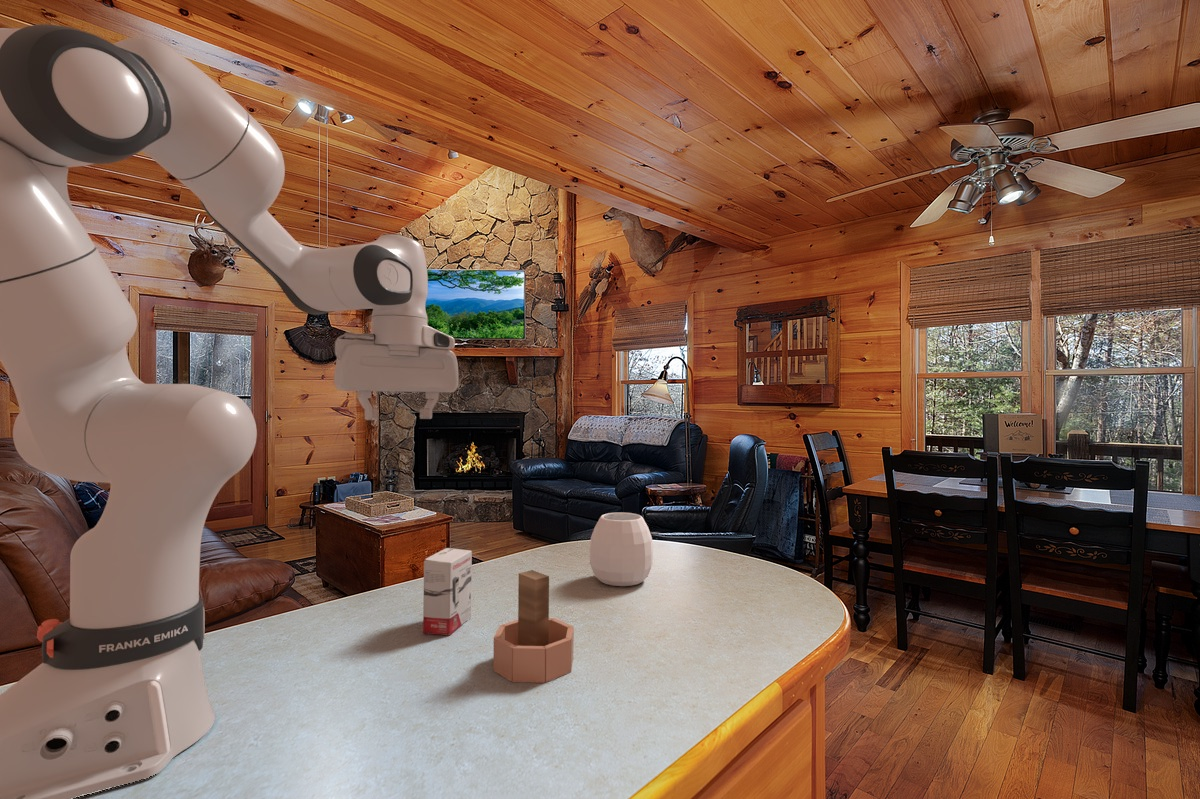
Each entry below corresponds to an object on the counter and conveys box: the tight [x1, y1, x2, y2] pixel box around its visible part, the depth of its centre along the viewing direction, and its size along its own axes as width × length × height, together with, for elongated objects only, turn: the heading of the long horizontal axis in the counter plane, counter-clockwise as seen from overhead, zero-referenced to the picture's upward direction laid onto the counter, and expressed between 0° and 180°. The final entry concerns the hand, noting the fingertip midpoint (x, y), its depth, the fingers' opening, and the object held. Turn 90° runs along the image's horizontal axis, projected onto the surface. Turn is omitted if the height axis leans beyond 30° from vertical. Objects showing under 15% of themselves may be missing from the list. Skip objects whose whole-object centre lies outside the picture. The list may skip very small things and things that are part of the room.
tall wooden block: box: [517, 569, 550, 646], centre depth 82 cm, size 2×4×12 cm, turn 44°
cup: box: [589, 511, 654, 587], centre depth 120 cm, size 13×13×14 cm
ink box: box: [422, 547, 473, 636], centre depth 96 cm, size 9×5×12 cm, turn 168°
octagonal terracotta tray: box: [493, 617, 575, 684], centre depth 82 cm, size 11×11×4 cm
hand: (399, 419), depth 96 cm, fingers open, 8 cm apart
